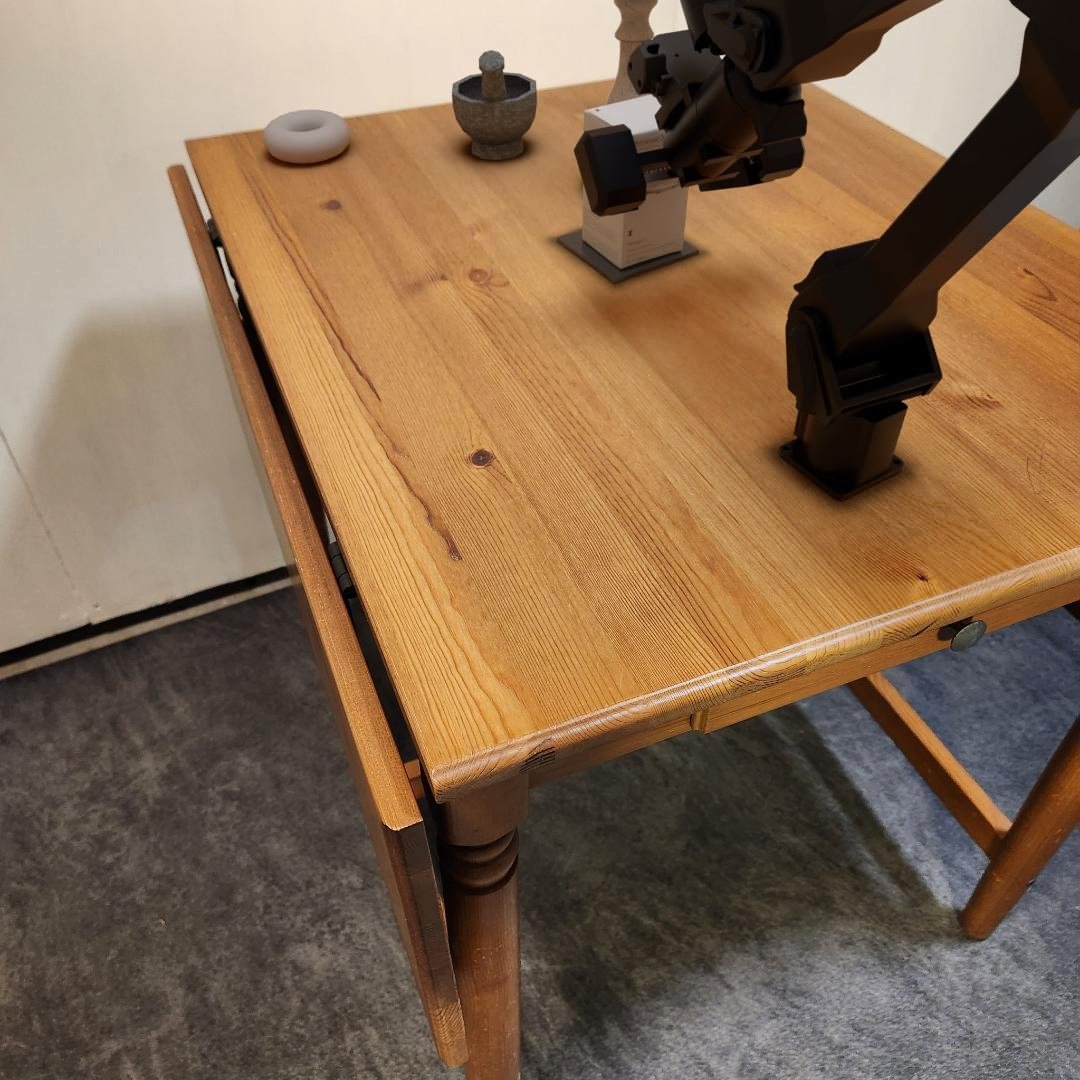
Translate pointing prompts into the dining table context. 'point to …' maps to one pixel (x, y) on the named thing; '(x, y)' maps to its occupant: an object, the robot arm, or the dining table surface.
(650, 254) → the white packaging box
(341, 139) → the donut
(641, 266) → the slate coaster
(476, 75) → the mortar and pestle
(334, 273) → the dining table surface
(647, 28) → the candle holder
